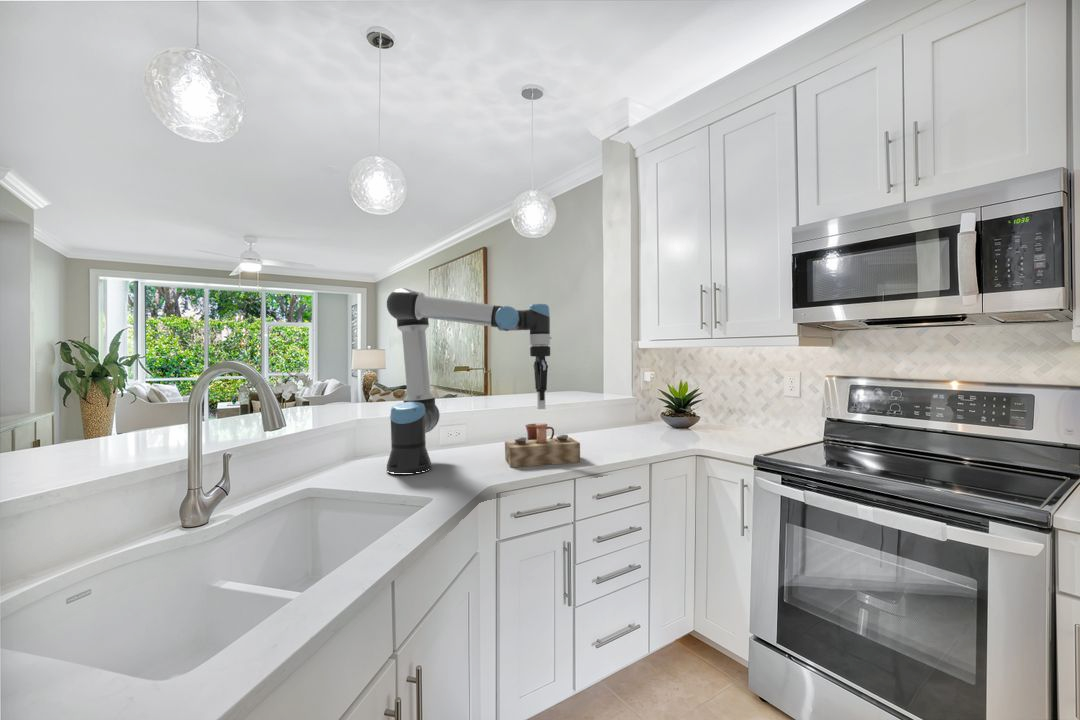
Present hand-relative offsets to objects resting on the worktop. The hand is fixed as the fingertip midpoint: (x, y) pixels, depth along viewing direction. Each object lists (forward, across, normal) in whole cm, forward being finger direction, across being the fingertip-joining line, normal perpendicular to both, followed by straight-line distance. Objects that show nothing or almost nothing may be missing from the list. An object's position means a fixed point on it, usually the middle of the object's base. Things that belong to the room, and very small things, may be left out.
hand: (541, 408), depth 175 cm
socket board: (+20, 0, 0) cm, 20 cm away
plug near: (+19, 0, +8) cm, 21 cm away
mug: (+20, +20, -4) cm, 28 cm away
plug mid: (+15, 0, 0) cm, 15 cm away
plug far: (+19, 0, -8) cm, 21 cm away
